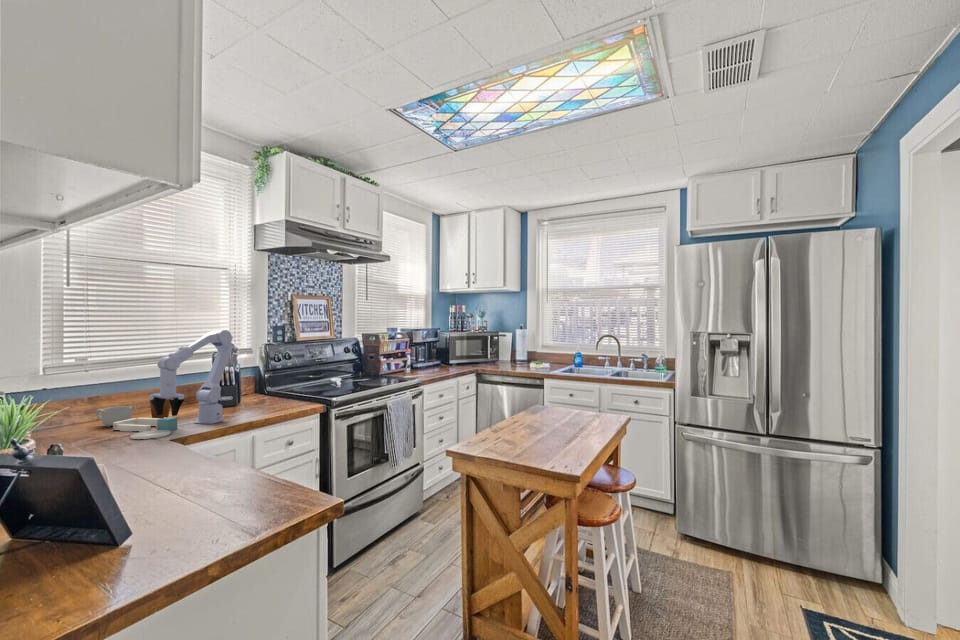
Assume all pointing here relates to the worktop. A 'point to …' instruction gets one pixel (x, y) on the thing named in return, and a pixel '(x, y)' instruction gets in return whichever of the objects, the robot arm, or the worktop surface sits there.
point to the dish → (151, 434)
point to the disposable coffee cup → (165, 409)
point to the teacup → (114, 414)
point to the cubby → (135, 424)
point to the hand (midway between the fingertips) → (167, 415)
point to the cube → (167, 423)
